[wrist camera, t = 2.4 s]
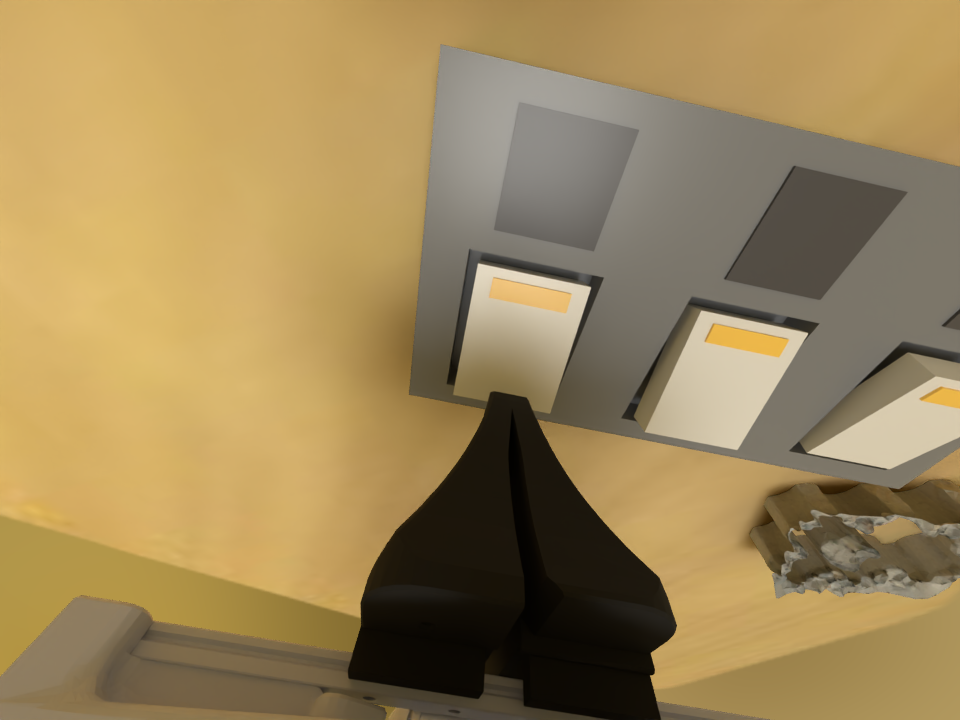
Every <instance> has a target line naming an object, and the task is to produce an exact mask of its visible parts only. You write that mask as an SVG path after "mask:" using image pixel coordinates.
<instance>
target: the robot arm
mask: <svg viewBox="0 0 960 720" xmlns="http://www.w3.org/2000/svg"><path fill="white" fill-rule="evenodd" d="M676 627H677V624H676V621H675V618H674V615H673V613H672V610H671V606H670V603H669V600H668V597H667V595H666V593H665V590H664V588H663V586H662V583H661V581H660V578H659V577H658V576H657V575H656V574H655V573H654V572H653V571H652V570H651V569H649V568H648V567H647V566H646V565H645V564H644V563H643V562H642V561H641V560H640V559H639V558H638V557H637V556H636V555H635V554H634V553H633V552H632V551H630V550H629V549H628V548H627V547H626V546H625V545H624V543H623V542H622V541H621V540H620V539H619V538H618V537H617V536H616V535H615V534H614V533H613V532H612V531H611V530H610V529H609V528H608V526H607V525H606V524H605V523H604V522H603V521H602V520H601V518H600V517H599V516H598V515H597V514H596V512H595V511H594V510H593V509H592V508H591V506H590V505H589V504H588V503H587V502H586V500H585V499H584V498H583V496H582V495H581V494H580V492H579V491H578V490H577V488H576V487H575V485H574V484H573V483H572V481H571V480H570V478H569V477H568V475H567V474H566V472H565V471H564V469H563V468H562V466H561V464H560V463H559V461H558V459H557V458H556V456H555V454H554V452H553V451H552V449H551V447H550V445H549V443H548V441H547V439H546V437H545V436H544V434H543V432H542V430H541V428H540V425H539V423H538V421H537V419H536V417H535V414H534V412H533V410H532V407H531V405H530V403H529V400H528V399H527V397H522V396H517V395H512V394H507V393H502V392H497V391H493V392H490V395H489V398H488V402H487V406H486V410H485V413H484V417H483V419H482V421H481V423H480V426H479V428H478V430H477V432H476V433H475V435H474V437H473V439H472V440H471V442H470V444H469V445H468V447H467V449H466V450H465V452H464V453H463V455H462V456H461V458H460V459H459V461H458V462H457V463H456V465H455V466H454V468H453V469H452V470H451V471H450V473H449V474H448V475H447V477H446V478H445V479H444V480H443V482H442V483H441V484H440V485H439V486H438V488H437V489H436V490H435V491H434V492H433V493H432V494H431V495H430V497H429V498H428V499H427V500H426V501H425V502H424V503H423V504H422V505H421V506H420V507H419V508H418V509H417V510H416V511H415V512H414V513H413V514H412V515H411V516H410V517H409V518H408V519H407V520H406V521H405V522H404V523H403V524H402V525H401V526H400V527H399V528H398V529H397V530H396V531H395V533H394V534H393V536H392V537H391V539H390V540H389V542H388V543H387V545H386V546H385V548H384V549H383V551H382V552H381V554H380V556H379V557H378V559H377V561H376V563H375V564H374V566H373V568H372V570H371V573H370V575H369V577H368V580H367V583H366V587H365V590H364V594H363V597H362V600H361V628H360V631H359V634H358V638H357V641H356V644H355V648H354V651H353V653H351V652H345V651H339V650H333V649H326V648H320V647H314V646H308V645H301V644H296V643H289V642H283V641H277V640H270V639H264V638H258V637H252V636H245V635H239V634H233V633H227V632H221V631H215V630H208V629H202V628H195V627H189V626H183V625H177V624H170V623H165V622H159V621H153V618H152V616H151V615H150V613H149V612H148V611H147V610H145V609H144V608H142V607H140V606H137V605H135V604H131V603H127V602H121V601H114V600H108V599H102V598H96V597H90V596H83V595H81V596H79V597H75V598H74V599H73V600H72V601H71V602H70V603H69V604H68V605H67V607H66V608H64V609H63V611H62V612H61V613H60V614H59V615H58V616H57V617H56V618H55V619H54V620H53V621H52V622H51V623H50V624H49V626H47V627H46V629H45V630H44V631H43V632H42V633H41V634H40V635H39V636H38V637H37V638H36V639H35V640H34V641H33V642H32V643H31V644H30V645H29V647H28V648H27V649H26V650H25V651H24V652H23V653H22V654H21V655H20V656H19V657H18V658H17V659H16V660H15V661H14V663H12V665H11V666H10V667H9V668H8V669H7V670H6V671H5V672H4V673H3V674H2V675H1V676H0V720H385V718H386V714H387V713H386V711H385V708H383V707H380V706H377V705H384V706H390V707H397V708H396V709H395V710H394V711H393V712H392V713H391V715H390V717H389V719H388V720H769V719H763V718H756V717H750V716H744V715H738V714H732V713H725V712H719V711H713V710H707V709H701V708H694V707H688V706H682V705H676V704H669V703H663V702H657V701H656V697H655V694H654V689H653V686H652V682H651V678H650V675H653V674H654V673H655V668H654V665H653V661H652V657H651V652H653V651H654V650H655V649H657V648H658V647H660V646H661V645H662V644H664V643H665V642H667V641H668V640H669V639H670V638H671V637H672V636H673V635H674V633H675V631H676ZM374 704H377V705H374Z"/></svg>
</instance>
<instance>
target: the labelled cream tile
mask: <svg viewBox="0 0 960 720" xmlns="http://www.w3.org/2000/svg"><path fill="white" fill-rule="evenodd" d="M590 290H591V287H590V286H589V285H587V284H586V283H584V282H583V281H578V280H574V279H569V278H564V277H559V276H555V275H550V274H545V273H540V272H536V271H531V270H526V269H522V268H517V267H512V266H507V265H503V264H498V263H493V262H488V261H484V260H479V262H478V267H477V272H476V277H475V282H474V288H473V293H472V298H471V303H470V308H469V314H468V319H467V324H466V329H465V335H464V340H463V345H462V350H461V356H460V361H459V366H458V371H457V377H456V382H455V387H454V392H453V395H457V396H462V397H467V398H472V399H477V400H482V401H487V402H488V398H489V395H490V392H493V391H497V392H502V393H507V394H512V395H517V396H522V397H527V399H528V400H529V403H530V405H531V407H532V410H534V411H539V412H544V413H549V414H550V412H551V409H552V406H553V403H554V400H555V397H556V394H557V391H558V388H559V385H560V382H561V378H562V375H563V372H564V369H565V366H566V363H567V360H568V357H569V354H570V351H571V348H572V345H573V342H574V339H575V336H576V333H577V329H578V326H579V323H580V320H581V317H582V314H583V311H584V308H585V305H586V302H587V299H588V296H589V293H590Z"/></svg>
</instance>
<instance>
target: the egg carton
mask: <svg viewBox="0 0 960 720" xmlns="http://www.w3.org/2000/svg"><path fill="white" fill-rule="evenodd" d="M764 507H765V508H766V509H767V511H768V513H769V514H770V515H771V517H772V518H773V520H774V521H773V522H771V523H769V524H766V525H763V526H758V527H754V528H753V529H752V531H751V533H750V537H751V539H752V540H753V542H754V543H755V545H756V547H757V549H758V550H759V552H760V553H761V555H762V557H763V558H764V560H765V562H766V564H767V566H768V567H769V568H770V570H772V571H773V572H774V573H773V574H772V576H773V580H774V587H775V593H776V598H780V597H782V596H784V595H786V594H788V593H791V592H797V593H801V594H803V593H805V589H808V590H813V591H817V592H818V593H819V594H820V593H822V592H823V591H824V590H825V589H827V590H829V591H830V592H832V593H833V594H835V595H837V596H839V597H843V596H844V594H846V593H852V592H856V593H866V594H870V593H874V592H885V593H891V594H895V595H900V596H904V597H909V598H913V599H928V598H930V597H933V596H935V595H937V594H939V593H940V592H942V591H944V590H945V589H947V588H948V587H950V586H951V584H952V582H954V581H956V580H957V578H960V487H958V486H957V485H955V484H954V483H953V482H951V481H949V480H930V481H928V482H926V483H925V484H923V485H921V486H919V487H917V488H915V489H912V490H908V491H903V492H892V491H891V490H890V489H889V488H888V487H885V486H880V485H875V484H869V483H861V484H858V485H857V486H855V487H854V488H852V489H850V490H848V491H845V492H842V493H837V494H823V493H822V492H821V490H820V489H819V488H818V486H817V485H816V484H809V483H807V484H797V485H795V486H794V487H792V488H791V489H790V490H788V491H787V492H785V493H782V494H779V495H774V496H770V497H767V499H766V501H765V503H764ZM899 517H901V518H904V519H908V520H910V521H912V522H914V523H915V524H916V525H917V526H918V527H919V528H920V530H921V531H922V532H923V533H920V534H914V535H910V536H906V537H903V538H901V539H899V540H897V541H896V542H894V543H892V544H881V543H880V542H879V541H878V540H877V539H876V538H875V537H874V536H871V535H868V534H871V533H873V532H874V528H873V526H880V525H884V524H887V523H889V522H892V521H894V520H896V519H897V518H899ZM855 528H856V529H858V530H860V531H861V532H863V533H864V534H863V535H860V533H859V532H858V531H857V530H856V529H855ZM794 529H795V530H797V531H800V530H801V529H802V530H803V531H804V533H805V534H806V535H800V536H795V535H794V533H793V532H792V530H794ZM865 534H867V535H865ZM775 573H776V574H775Z"/></svg>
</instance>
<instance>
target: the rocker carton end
mask: <svg viewBox="0 0 960 720" xmlns="http://www.w3.org/2000/svg"><path fill="white" fill-rule="evenodd" d="M959 437H960V363H956V362H951V361H946V360H941V359H937V358H932V357H927V356H922V355H918V354H913V353H906V354H905V355H903V356H902V357H900V358H899V359H897V360H896V361H894V362H893V363H891V364H890V365H888V366H887V367H885V368H884V369H882V370H881V371H880V372H878V373H877V374H875V375H874V376H872V377H871V378H869V379H868V380H866V381H865V382H863V383H862V384H860V385H859V386H857V387H856V388H854V389H853V390H852V391H851V392H849V393H848V394H847V395H846V396H845V397H844V398H843V399H842V400H841V401H840V402H839V403H838V404H837V405H836V406H835V407H834V408H833V409H832V410H831V411H830V412H829V413H828V414H827V415H826V416H825V417H824V418H823V419H821V420H820V421H819V422H818V423H817V424H816V425H815V426H814V427H813V428H812V429H811V430H810V431H809V432H808V433H807V434H806V435H805V436H804V437H803V438H802V439H801V440H800V441H799V442H800V443H801V445H802V447H803V448H804V450H805V451H806V453H810V454H815V455H820V456H825V457H830V458H835V459H840V460H845V461H851V462H856V463H861V464H866V465H871V466H876V467H881V468H886V469H891V468H894V467H896V466H898V465H900V464H902V463H904V462H907V461H909V460H911V459H913V458H915V457H918V456H920V455H922V454H924V453H926V452H928V451H931V450H933V449H935V448H937V447H939V446H942V445H944V444H946V443H948V442H950V441H952V440H955V439H957V438H959Z"/></svg>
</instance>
